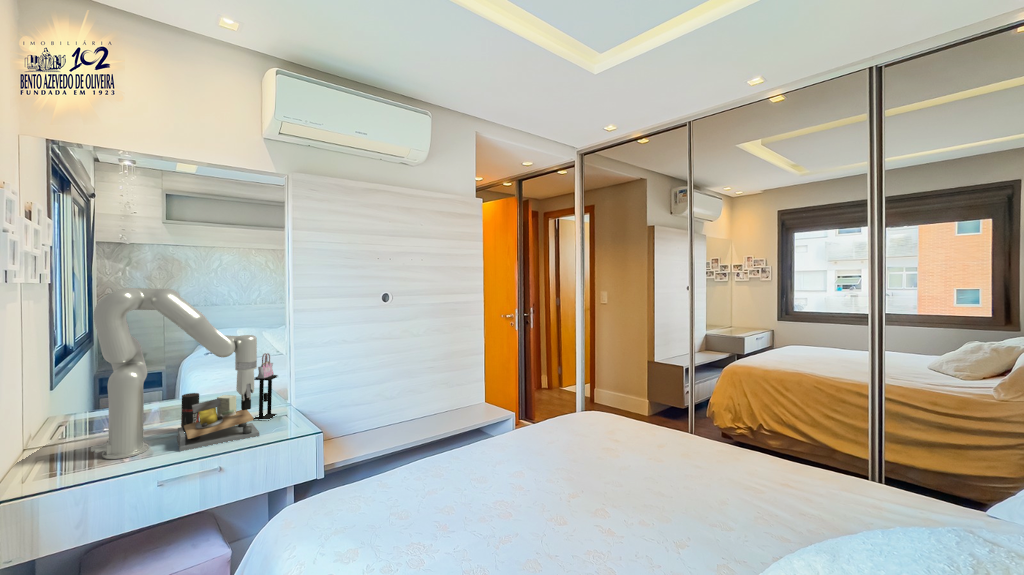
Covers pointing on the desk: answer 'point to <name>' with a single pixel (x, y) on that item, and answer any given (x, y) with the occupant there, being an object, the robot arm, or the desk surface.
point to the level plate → (223, 425)
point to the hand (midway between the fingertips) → (246, 409)
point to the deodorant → (189, 409)
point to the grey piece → (216, 436)
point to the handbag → (268, 375)
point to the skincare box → (226, 403)
